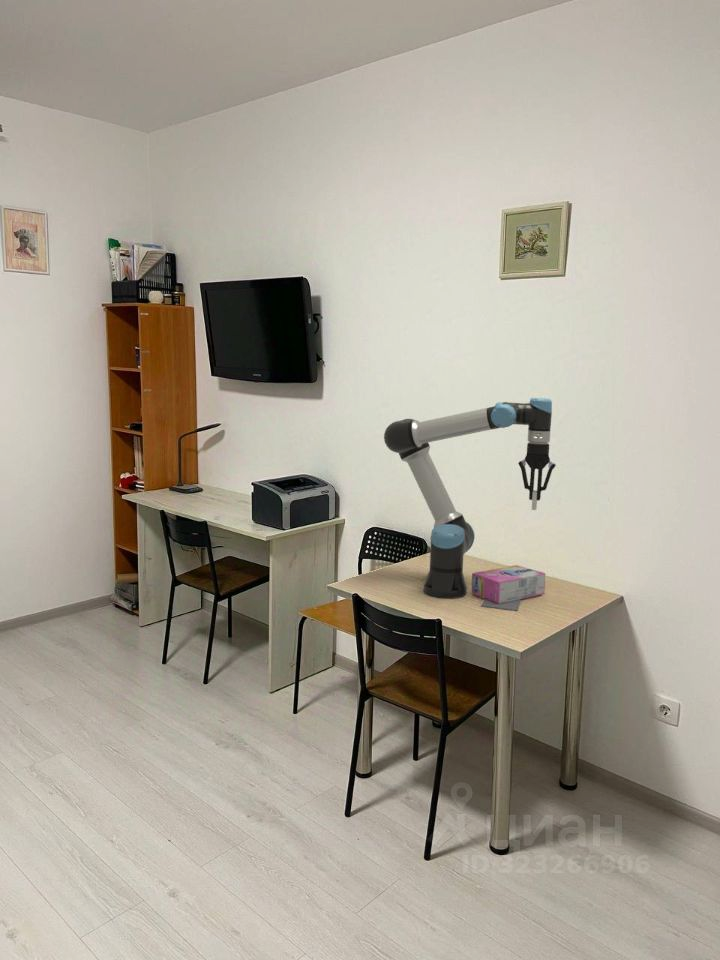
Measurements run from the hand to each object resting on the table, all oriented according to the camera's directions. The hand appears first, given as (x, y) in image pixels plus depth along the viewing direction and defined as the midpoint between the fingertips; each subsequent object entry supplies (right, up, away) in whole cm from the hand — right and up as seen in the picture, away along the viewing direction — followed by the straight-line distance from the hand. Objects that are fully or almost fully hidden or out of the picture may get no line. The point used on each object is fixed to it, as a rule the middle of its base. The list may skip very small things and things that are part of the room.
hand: (534, 509), depth 263 cm
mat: (-12, -31, -5) cm, 34 cm away
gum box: (-5, -27, -6) cm, 28 cm away
